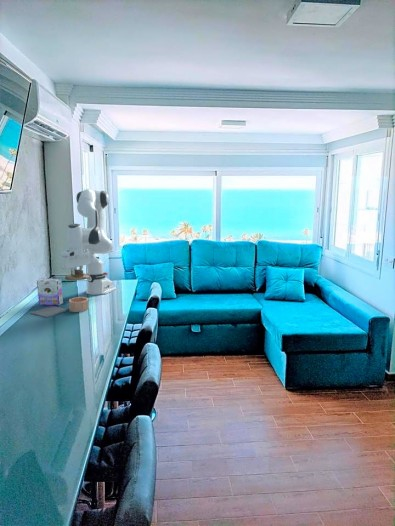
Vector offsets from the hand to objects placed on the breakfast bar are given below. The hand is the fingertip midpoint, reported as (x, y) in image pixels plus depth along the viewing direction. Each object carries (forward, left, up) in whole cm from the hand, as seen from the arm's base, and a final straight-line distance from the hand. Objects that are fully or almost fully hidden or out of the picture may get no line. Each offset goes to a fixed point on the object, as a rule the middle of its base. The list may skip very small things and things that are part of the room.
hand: (77, 273), depth 222 cm
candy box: (+2, -23, -23) cm, 32 cm away
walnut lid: (0, 0, -2) cm, 2 cm away
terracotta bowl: (0, 0, -22) cm, 22 cm away
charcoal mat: (+13, -11, -22) cm, 28 cm away
